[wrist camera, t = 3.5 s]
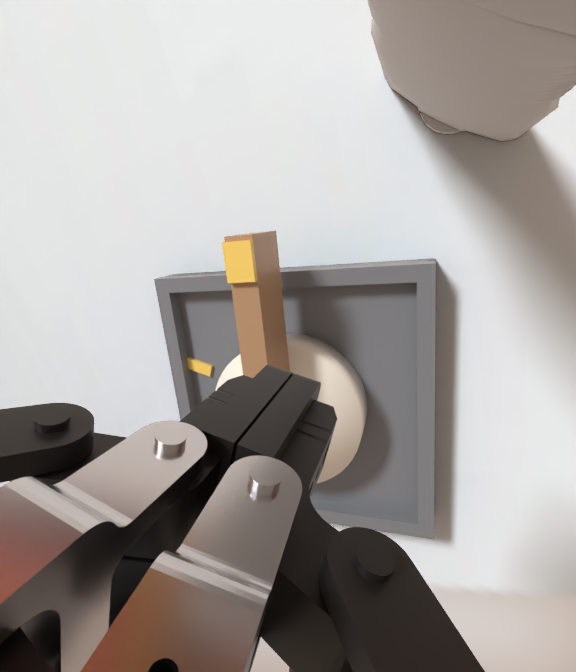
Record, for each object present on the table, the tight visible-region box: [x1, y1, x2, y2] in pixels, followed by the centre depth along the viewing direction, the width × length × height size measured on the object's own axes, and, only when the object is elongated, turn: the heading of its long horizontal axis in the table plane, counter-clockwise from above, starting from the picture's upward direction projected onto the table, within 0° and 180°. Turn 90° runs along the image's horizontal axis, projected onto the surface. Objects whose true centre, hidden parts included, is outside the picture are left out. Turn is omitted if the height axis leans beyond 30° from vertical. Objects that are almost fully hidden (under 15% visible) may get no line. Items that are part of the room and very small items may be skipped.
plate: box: [154, 259, 436, 539], centre depth 34 cm, size 22×22×3 cm
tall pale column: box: [368, 0, 576, 141], centre depth 15 cm, size 11×4×22 cm, turn 63°
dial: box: [215, 231, 367, 483], centre depth 29 cm, size 20×12×7 cm, turn 6°
